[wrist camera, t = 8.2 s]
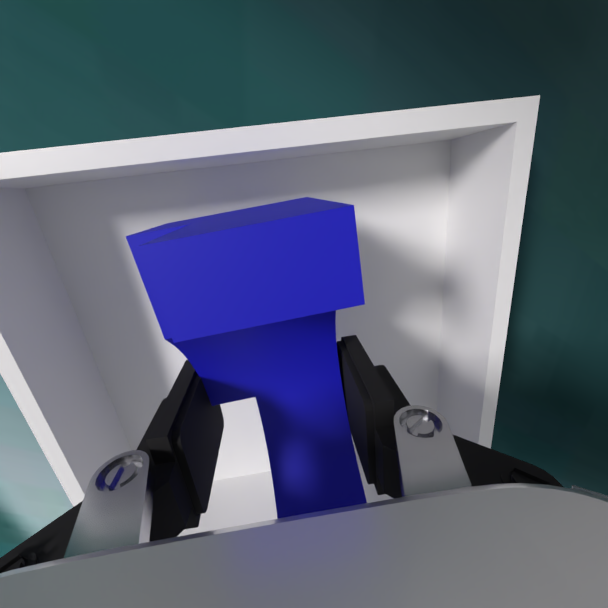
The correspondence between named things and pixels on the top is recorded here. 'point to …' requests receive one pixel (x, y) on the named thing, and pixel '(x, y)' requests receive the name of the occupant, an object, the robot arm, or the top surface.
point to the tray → (240, 195)
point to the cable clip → (268, 330)
